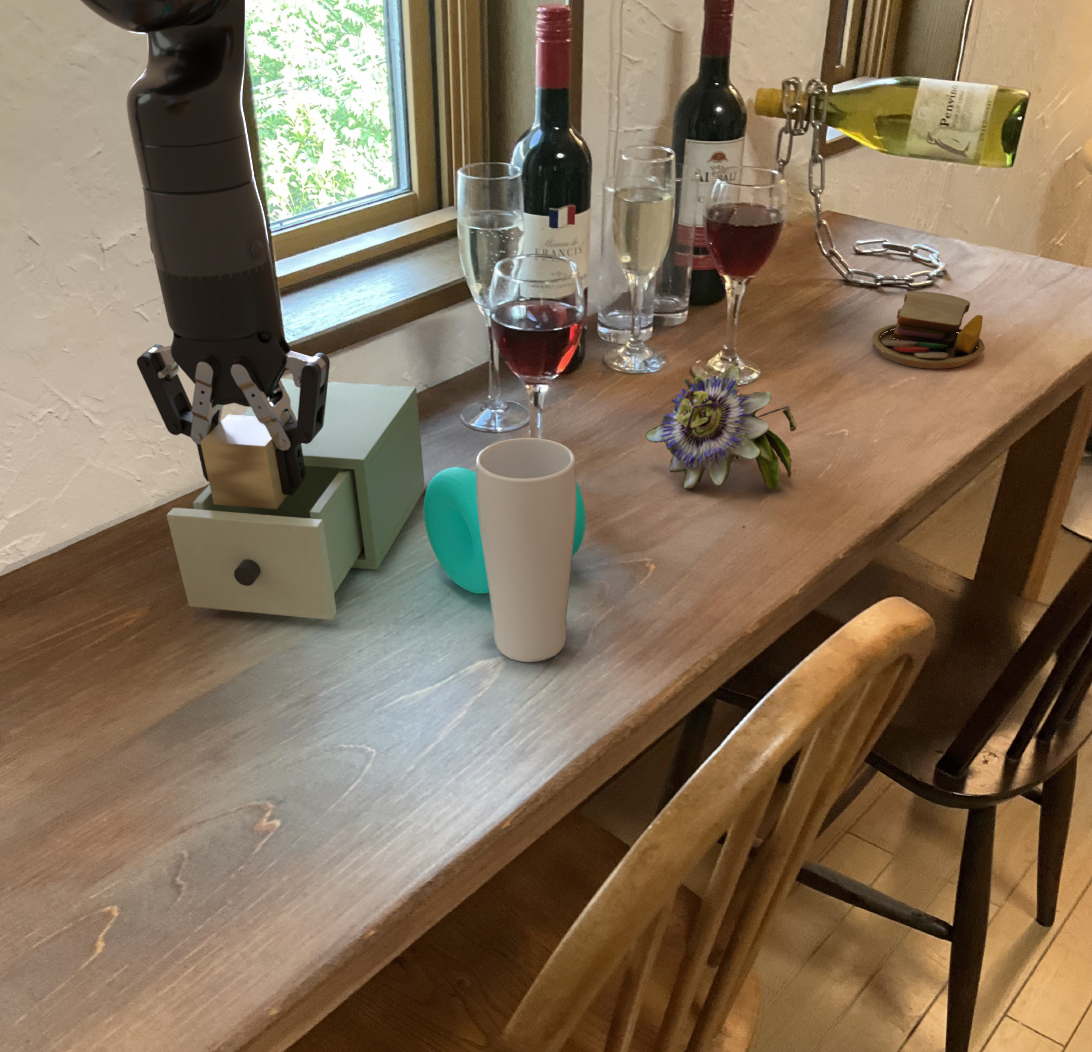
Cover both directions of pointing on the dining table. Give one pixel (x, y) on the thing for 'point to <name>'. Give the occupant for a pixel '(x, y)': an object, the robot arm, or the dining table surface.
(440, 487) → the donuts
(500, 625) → the drinking glass
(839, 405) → the dining table surface
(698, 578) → the dining table surface
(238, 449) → the block
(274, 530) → the drawer
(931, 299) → the toy sandwich meal
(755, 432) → the passion flower
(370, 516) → the cabinet
